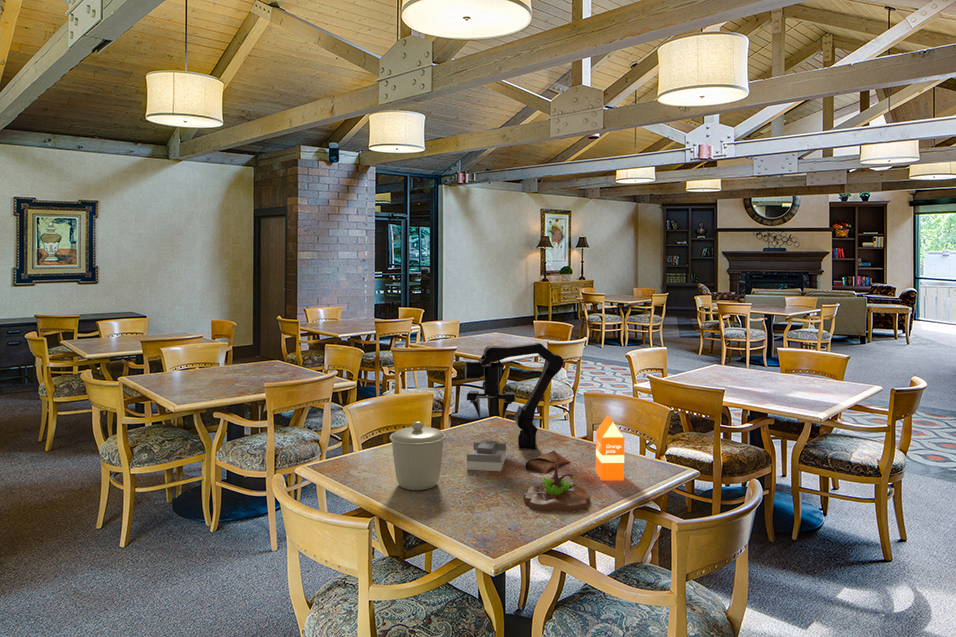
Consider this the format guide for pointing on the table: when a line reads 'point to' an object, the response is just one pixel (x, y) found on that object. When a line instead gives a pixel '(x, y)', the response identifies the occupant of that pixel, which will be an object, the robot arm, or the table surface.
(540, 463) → the sunglasses case
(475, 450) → the stand
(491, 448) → the grey knobbed block
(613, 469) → the orange juice
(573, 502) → the plant
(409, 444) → the canister
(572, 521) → the table surface
